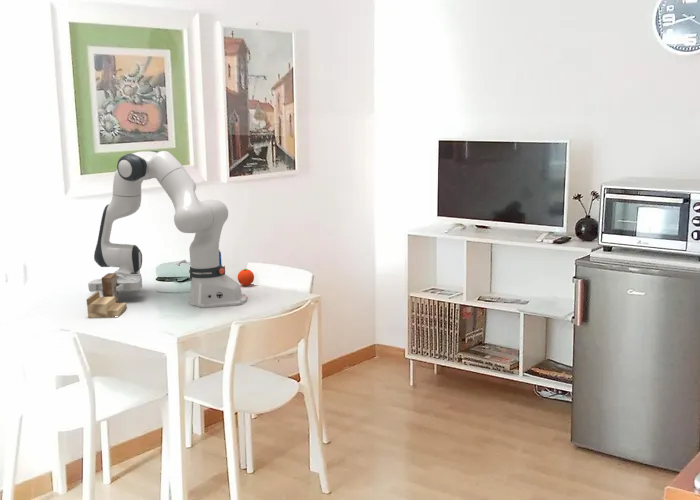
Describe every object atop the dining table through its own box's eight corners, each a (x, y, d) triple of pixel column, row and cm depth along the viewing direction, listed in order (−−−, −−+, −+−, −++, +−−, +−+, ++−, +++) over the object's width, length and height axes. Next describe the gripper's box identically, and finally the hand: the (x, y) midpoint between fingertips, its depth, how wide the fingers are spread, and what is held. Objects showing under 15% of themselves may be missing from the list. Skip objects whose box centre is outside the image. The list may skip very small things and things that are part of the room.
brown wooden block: (119, 303, 311) (116, 273, 309) (112, 308, 303) (110, 277, 301) (110, 303, 311) (108, 273, 309) (104, 308, 303) (101, 278, 301)
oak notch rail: (126, 309, 302) (125, 291, 300) (118, 317, 291) (116, 298, 290) (98, 309, 302) (96, 291, 301) (88, 317, 291) (86, 299, 290)
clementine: (238, 283, 338) (237, 267, 337) (254, 282, 339) (253, 266, 338) (237, 287, 330) (236, 271, 329) (254, 287, 331) (253, 270, 330)
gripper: (93, 274, 318) (81, 282, 305) (144, 273, 318) (135, 281, 304) (95, 289, 320) (83, 298, 306) (146, 288, 319) (136, 297, 306)
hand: (109, 289), depth 305 cm, fingers closed on brown wooden block, 3 cm apart
